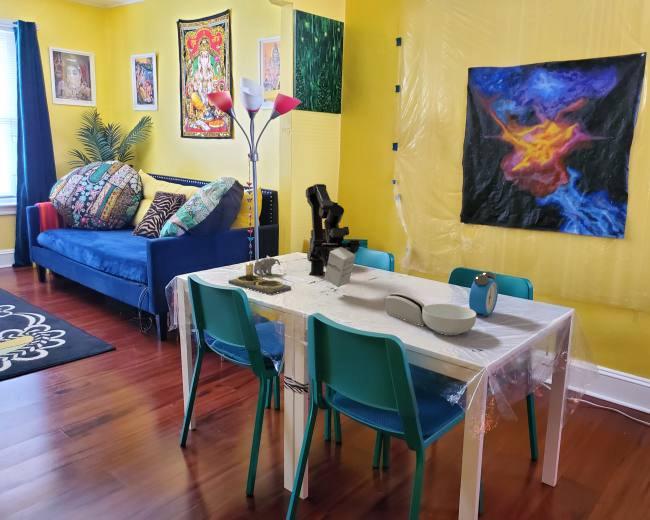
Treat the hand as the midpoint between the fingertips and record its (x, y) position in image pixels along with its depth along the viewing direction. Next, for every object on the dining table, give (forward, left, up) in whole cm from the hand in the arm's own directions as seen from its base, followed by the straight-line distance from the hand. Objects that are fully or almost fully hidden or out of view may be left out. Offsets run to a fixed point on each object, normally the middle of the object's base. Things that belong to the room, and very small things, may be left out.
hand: (338, 264), depth 212 cm
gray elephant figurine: (-27, -36, -12) cm, 46 cm away
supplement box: (-2, -1, -7) cm, 7 cm away
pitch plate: (-5, -33, -12) cm, 35 cm away
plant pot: (-54, -14, -12) cm, 57 cm away
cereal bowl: (+32, +40, -12) cm, 53 cm away
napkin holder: (+23, +27, -13) cm, 37 cm away
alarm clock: (+10, +53, -12) cm, 56 cm away
